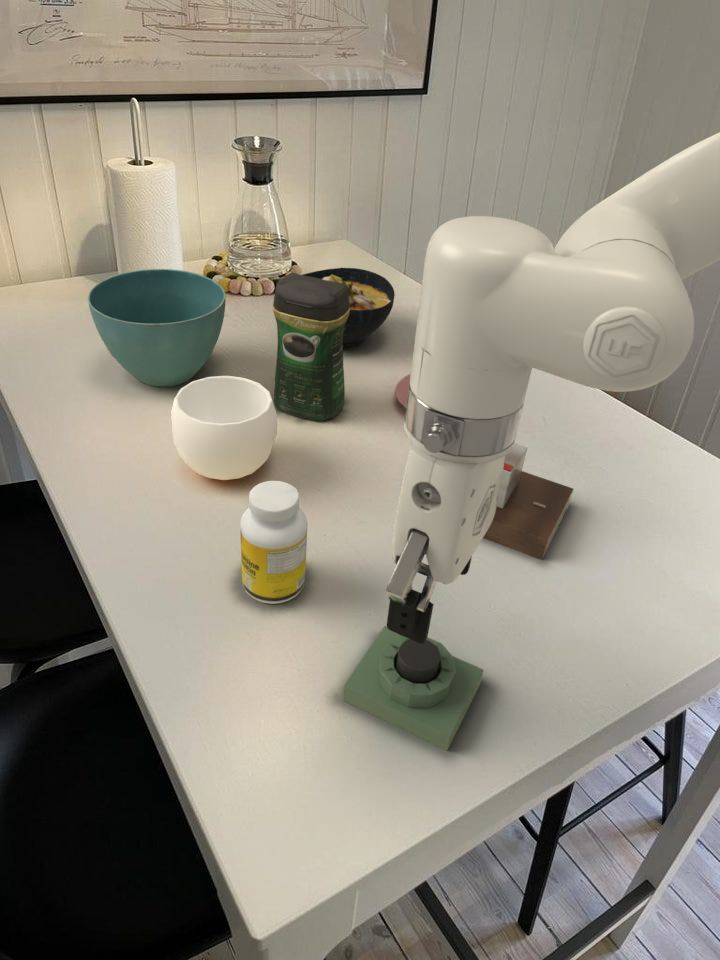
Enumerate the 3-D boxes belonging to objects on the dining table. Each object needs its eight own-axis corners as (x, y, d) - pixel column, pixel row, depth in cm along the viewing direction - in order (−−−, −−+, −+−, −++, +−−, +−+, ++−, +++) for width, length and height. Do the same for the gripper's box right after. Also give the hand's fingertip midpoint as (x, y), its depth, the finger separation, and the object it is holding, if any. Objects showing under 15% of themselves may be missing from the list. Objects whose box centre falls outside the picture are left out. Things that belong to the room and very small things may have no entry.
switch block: (480, 685, 69) (487, 656, 66) (446, 752, 63) (453, 723, 61) (382, 641, 72) (386, 612, 70) (342, 701, 66) (344, 671, 64)
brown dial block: (567, 508, 91) (574, 487, 89) (541, 560, 83) (547, 539, 81) (460, 470, 96) (464, 450, 94) (425, 517, 88) (429, 495, 86)
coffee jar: (350, 401, 107) (360, 276, 96) (329, 428, 101) (336, 298, 90) (289, 385, 110) (291, 261, 99) (264, 410, 104) (264, 282, 93)
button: (444, 661, 66) (446, 648, 65) (427, 690, 63) (430, 677, 62) (407, 644, 67) (409, 631, 66) (389, 672, 65) (391, 659, 64)
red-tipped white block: (503, 476, 90) (511, 440, 87) (519, 482, 89) (528, 445, 86) (485, 502, 86) (494, 465, 83) (502, 508, 85) (511, 471, 82)
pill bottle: (246, 560, 80) (243, 472, 73) (307, 563, 80) (310, 476, 73) (237, 605, 74) (234, 515, 68) (303, 608, 75) (306, 519, 68)
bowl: (408, 336, 126) (415, 278, 120) (351, 374, 114) (355, 312, 108) (326, 307, 133) (328, 251, 127) (263, 340, 121) (263, 280, 115)
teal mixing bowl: (245, 392, 107) (244, 312, 100) (115, 415, 100) (103, 331, 93) (206, 337, 120) (202, 263, 113) (88, 355, 113) (75, 276, 105)
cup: (192, 507, 86) (187, 437, 80) (163, 450, 95) (156, 382, 89) (292, 483, 91) (293, 415, 85) (255, 431, 100) (255, 366, 94)
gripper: (467, 501, 42) (428, 696, 53) (553, 377, 55) (508, 554, 65) (350, 458, 45) (335, 652, 55) (458, 349, 58) (429, 523, 68)
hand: (429, 598), depth 60 cm, fingers open, 8 cm apart
